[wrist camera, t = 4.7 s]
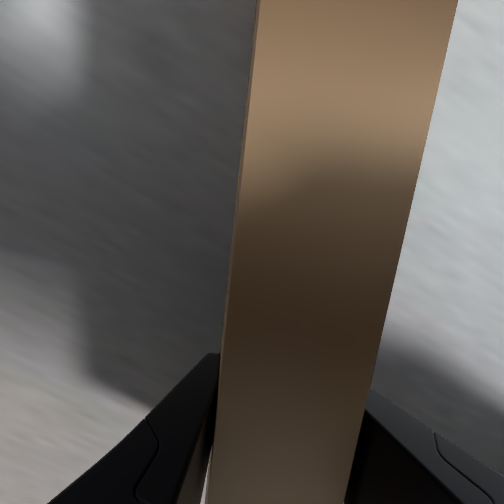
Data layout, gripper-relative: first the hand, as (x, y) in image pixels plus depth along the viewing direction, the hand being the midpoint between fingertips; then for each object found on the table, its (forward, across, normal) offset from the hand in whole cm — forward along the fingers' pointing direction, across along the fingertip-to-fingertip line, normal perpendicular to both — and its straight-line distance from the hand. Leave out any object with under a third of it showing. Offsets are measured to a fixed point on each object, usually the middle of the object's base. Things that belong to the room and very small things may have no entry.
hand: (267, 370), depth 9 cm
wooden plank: (+1, 0, -3) cm, 3 cm away
